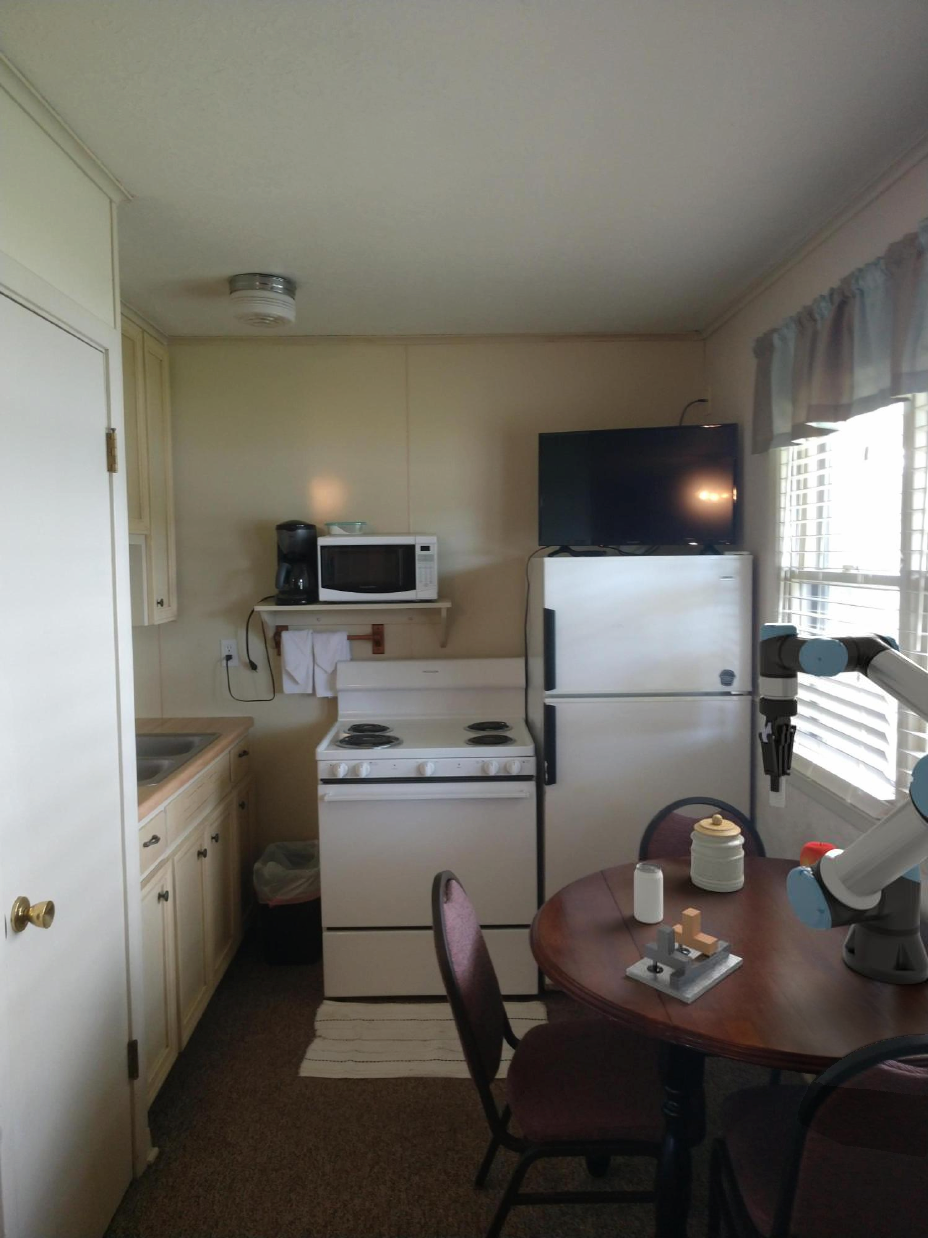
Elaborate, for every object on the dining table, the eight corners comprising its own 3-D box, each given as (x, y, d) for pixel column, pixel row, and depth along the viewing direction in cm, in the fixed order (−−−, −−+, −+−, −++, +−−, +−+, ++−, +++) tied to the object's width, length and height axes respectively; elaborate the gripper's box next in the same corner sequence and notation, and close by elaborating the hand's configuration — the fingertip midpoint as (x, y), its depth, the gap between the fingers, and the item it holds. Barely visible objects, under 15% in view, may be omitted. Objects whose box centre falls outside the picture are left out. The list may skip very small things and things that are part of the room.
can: (663, 925, 172) (663, 873, 171) (634, 923, 173) (634, 872, 172) (662, 912, 178) (662, 862, 177) (633, 910, 179) (633, 861, 178)
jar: (683, 886, 192) (683, 817, 191) (699, 868, 203) (699, 804, 202) (736, 897, 185) (736, 826, 184) (750, 879, 196) (750, 812, 195)
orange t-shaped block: (717, 961, 152) (717, 917, 152) (709, 967, 150) (709, 922, 150) (678, 945, 159) (677, 903, 158) (670, 950, 157) (669, 908, 156)
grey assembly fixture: (742, 964, 154) (742, 914, 154) (689, 1004, 141) (689, 949, 140) (681, 940, 165) (681, 893, 164) (626, 975, 151) (626, 924, 150)
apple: (848, 889, 189) (849, 849, 188) (809, 889, 189) (810, 850, 188) (830, 873, 198) (830, 835, 198) (793, 874, 198) (793, 836, 198)
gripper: (775, 690, 168) (774, 795, 170) (746, 698, 159) (745, 808, 161) (809, 694, 162) (808, 802, 164) (781, 702, 154) (780, 816, 155)
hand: (777, 805), depth 162 cm, fingers closed
